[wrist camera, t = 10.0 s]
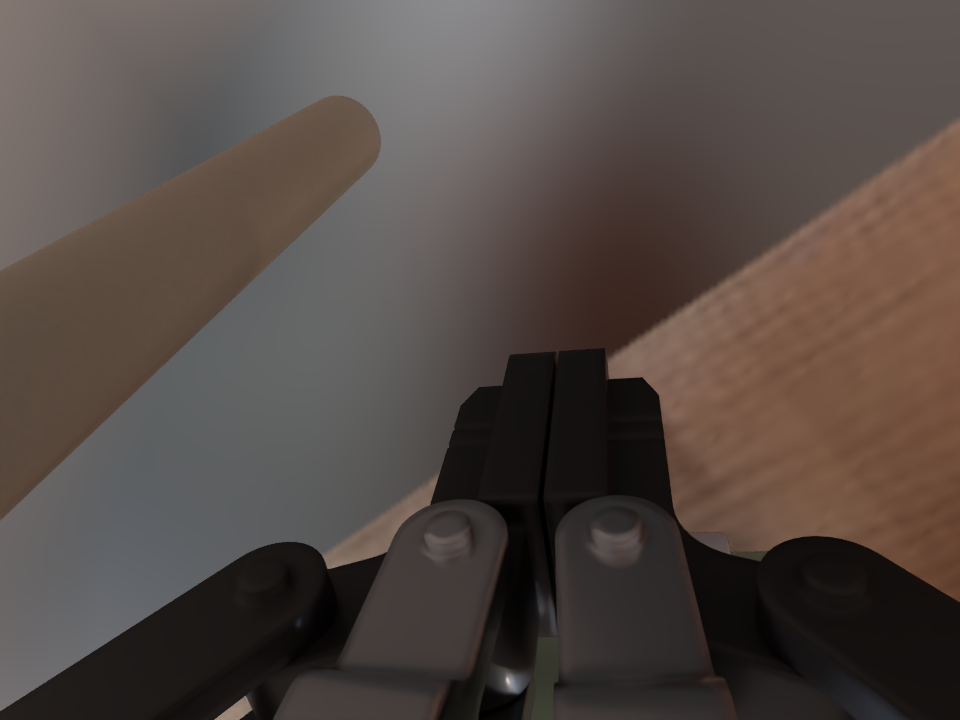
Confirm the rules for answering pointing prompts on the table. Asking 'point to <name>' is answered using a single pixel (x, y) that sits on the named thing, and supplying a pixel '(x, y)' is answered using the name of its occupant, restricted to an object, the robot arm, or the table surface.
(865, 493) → the table surface
